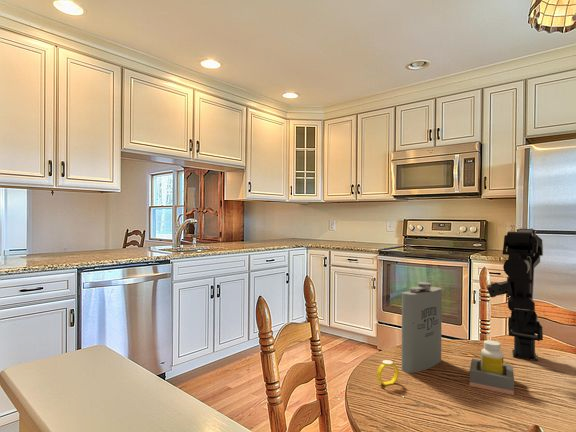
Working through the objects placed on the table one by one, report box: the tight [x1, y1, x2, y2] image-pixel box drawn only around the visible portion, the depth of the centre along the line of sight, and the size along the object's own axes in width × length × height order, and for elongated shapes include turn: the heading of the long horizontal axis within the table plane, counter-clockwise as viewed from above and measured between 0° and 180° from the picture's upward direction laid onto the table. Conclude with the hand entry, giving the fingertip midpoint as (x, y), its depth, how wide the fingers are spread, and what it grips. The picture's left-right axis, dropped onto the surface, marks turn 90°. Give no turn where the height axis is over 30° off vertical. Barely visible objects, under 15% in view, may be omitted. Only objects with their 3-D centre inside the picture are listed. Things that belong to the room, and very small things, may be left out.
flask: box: [400, 281, 443, 374], centre depth 110 cm, size 17×5×25 cm, turn 128°
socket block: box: [469, 357, 515, 396], centre depth 98 cm, size 10×10×4 cm
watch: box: [376, 359, 399, 386], centre depth 97 cm, size 6×3×6 cm, turn 111°
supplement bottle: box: [480, 339, 504, 375], centre depth 99 cm, size 5×5×10 cm
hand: (519, 327), depth 107 cm, fingers open, 9 cm apart
